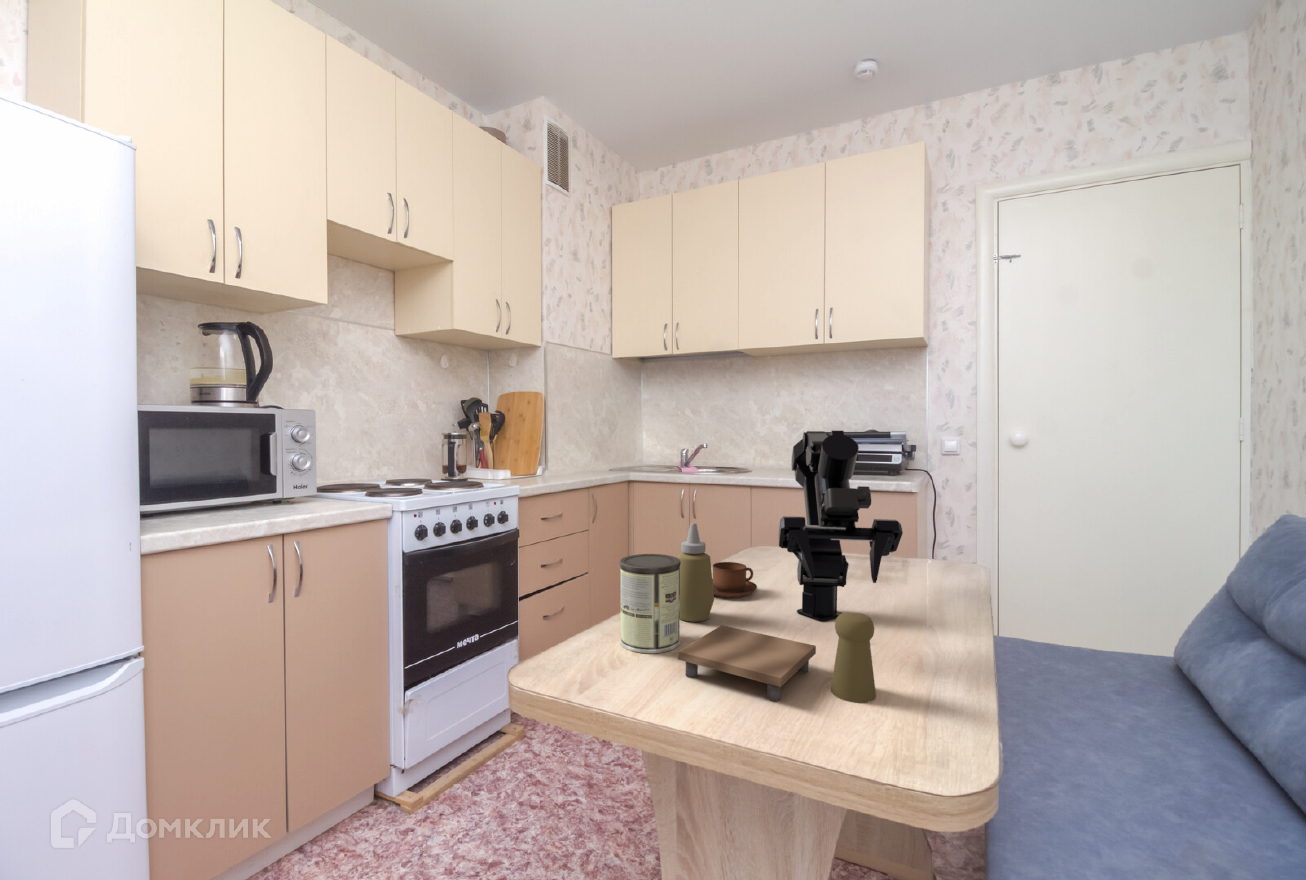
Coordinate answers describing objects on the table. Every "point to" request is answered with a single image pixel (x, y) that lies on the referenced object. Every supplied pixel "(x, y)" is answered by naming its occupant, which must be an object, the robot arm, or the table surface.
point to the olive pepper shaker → (853, 659)
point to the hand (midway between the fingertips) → (843, 580)
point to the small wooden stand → (749, 656)
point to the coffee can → (650, 603)
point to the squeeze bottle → (695, 579)
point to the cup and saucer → (732, 580)
